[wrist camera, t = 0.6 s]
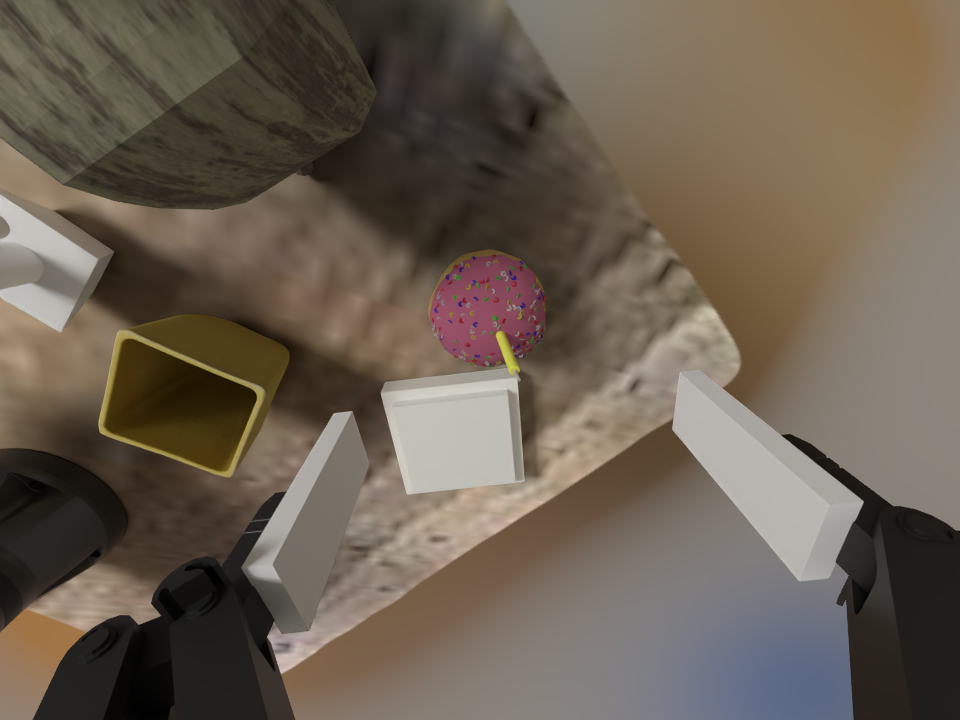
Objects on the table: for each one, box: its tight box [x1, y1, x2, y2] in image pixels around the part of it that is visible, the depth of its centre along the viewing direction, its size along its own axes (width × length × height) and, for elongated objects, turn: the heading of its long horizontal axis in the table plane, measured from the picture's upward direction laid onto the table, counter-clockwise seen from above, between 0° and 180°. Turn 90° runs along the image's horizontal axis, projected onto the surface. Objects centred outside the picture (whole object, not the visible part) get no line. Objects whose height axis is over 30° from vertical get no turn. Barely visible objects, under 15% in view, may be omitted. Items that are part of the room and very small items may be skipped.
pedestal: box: [381, 368, 525, 494], centre depth 35 cm, size 12×12×3 cm
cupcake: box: [428, 249, 546, 382], centre depth 25 cm, size 9×8×12 cm
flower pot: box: [98, 314, 289, 478], centre depth 28 cm, size 9×9×9 cm
